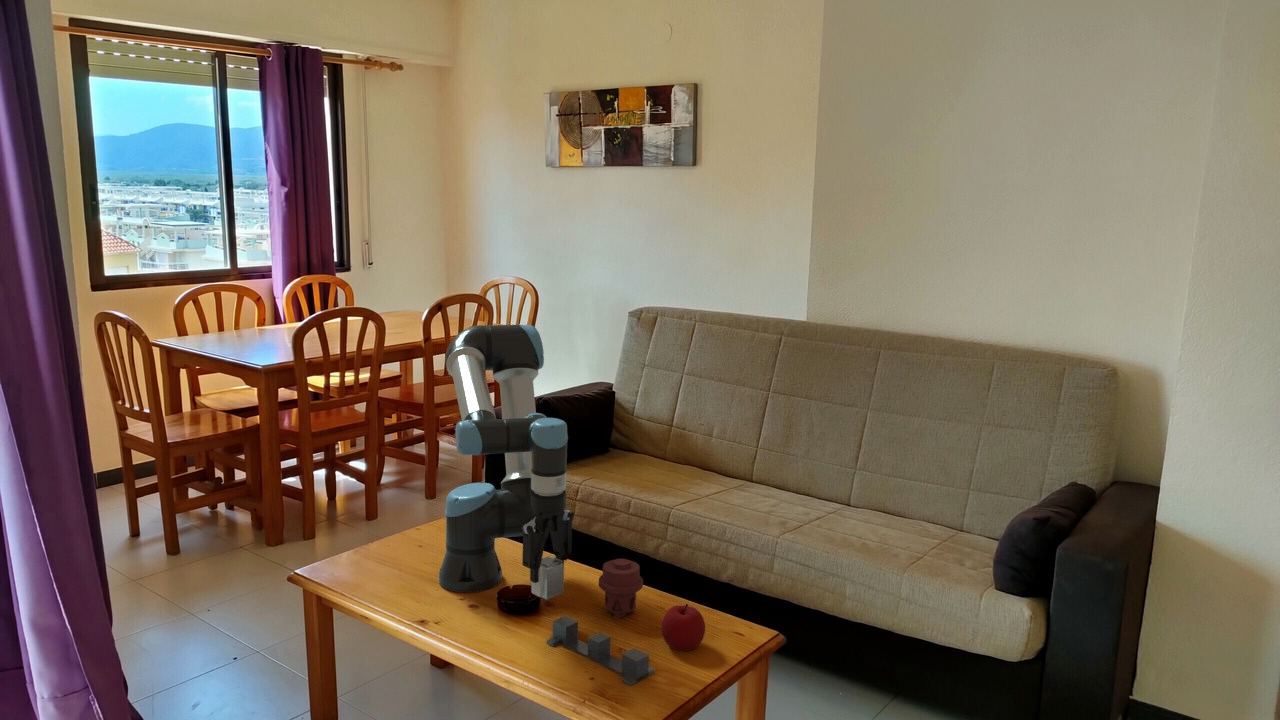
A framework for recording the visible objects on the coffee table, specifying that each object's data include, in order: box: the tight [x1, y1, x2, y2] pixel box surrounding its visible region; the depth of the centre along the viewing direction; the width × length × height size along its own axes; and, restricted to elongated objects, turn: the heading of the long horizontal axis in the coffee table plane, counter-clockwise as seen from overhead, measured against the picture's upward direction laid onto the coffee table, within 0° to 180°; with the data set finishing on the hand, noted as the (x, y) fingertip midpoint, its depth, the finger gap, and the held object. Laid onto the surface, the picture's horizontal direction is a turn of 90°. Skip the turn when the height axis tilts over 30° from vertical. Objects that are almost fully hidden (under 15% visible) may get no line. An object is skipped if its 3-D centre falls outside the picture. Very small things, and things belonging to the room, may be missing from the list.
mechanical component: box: [598, 558, 644, 620], centre depth 205 cm, size 12×10×10 cm
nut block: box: [530, 555, 565, 600], centre depth 199 cm, size 5×5×7 cm
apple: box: [660, 603, 706, 652], centre depth 190 cm, size 9×9×10 cm
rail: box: [546, 615, 655, 687], centre depth 185 cm, size 24×7×4 cm, turn 48°
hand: (546, 590), depth 199 cm, fingers closed on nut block, 5 cm apart
